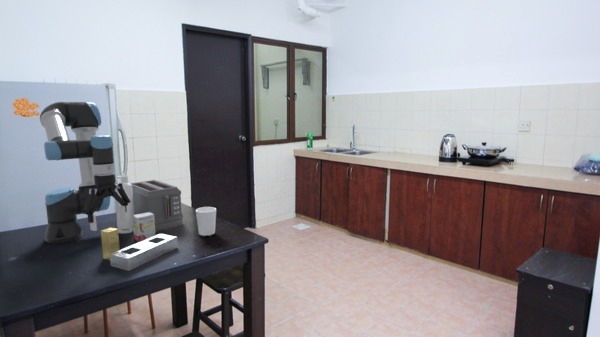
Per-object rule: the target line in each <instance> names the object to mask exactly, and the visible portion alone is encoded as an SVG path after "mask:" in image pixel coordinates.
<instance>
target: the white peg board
mask: <svg viewBox="0 0 600 337" xmlns="http://www.w3.org/2000/svg"><path fill="white" fill-rule="evenodd" d="M178 247H179V246H178V237H177V236H176V235H175V236H174V235H170V234H165V233H158V234H156V235H155V236H153V237H150V238H148V239H146V240H143V241H140V242H138V241H137V242H136V243H134V244H131V245H129V246H126V247H124V248H122V249H120V250H119V251H116V252H114V253H111V254H110V260H109V262H110V267H113V268H118V269H120V270H125V271H128V272H129V271H131V270H132V271H133V270H134V269H135V268H138V267H141V266H142V265H144V264H146V263H148V262H151V261H152V260H155V259H156V258H159V257H161V256H163V255H165V254H167V253H169V252H171V251H174V250H176V249H178Z"/></svg>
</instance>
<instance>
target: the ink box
mask: <svg viewBox="0 0 600 337" xmlns="http://www.w3.org/2000/svg"><path fill="white" fill-rule="evenodd" d="M133 229H134V231H133V240H135V241H136V242H137V243H138V242H141V241H143V240H146V239H148V238H150V237H153V236H155V235H157V234H156V231H155V219H154V214H153V213H151V212H147V213H142V214H137V215H134V216H133Z"/></svg>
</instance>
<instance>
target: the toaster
mask: <svg viewBox="0 0 600 337" xmlns="http://www.w3.org/2000/svg"><path fill="white" fill-rule="evenodd" d="M129 183H130V184H131V185H132V190H133V203H134V215H137V214H142V213H147V212H151V213H153V214H154V219H155V232H160V231H164V230H167V229H171V228H174V227H179V226H181V225H183V219H184V215H183V213H182V198H181V195H182V191H181V190H180V189H179V188H178V187H177V186H175V185H172V184H168V183H166V182H163V181H159V180H156V179H152V180H151V179H150V180H143V181H138V182H132V183H131V182H129Z"/></svg>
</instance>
